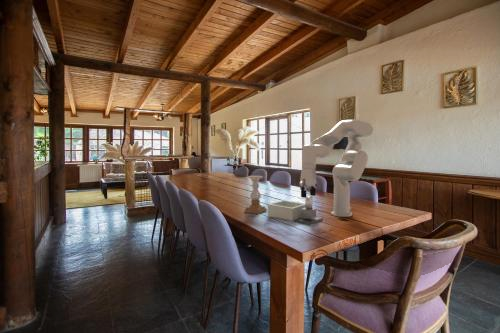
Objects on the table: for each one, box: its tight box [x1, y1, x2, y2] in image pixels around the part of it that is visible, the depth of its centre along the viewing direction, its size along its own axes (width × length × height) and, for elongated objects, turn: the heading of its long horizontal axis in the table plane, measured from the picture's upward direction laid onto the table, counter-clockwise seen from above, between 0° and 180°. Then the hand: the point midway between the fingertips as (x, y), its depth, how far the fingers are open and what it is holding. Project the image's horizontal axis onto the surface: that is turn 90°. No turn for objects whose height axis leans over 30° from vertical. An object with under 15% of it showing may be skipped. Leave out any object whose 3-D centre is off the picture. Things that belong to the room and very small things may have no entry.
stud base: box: [294, 216, 324, 226], centre depth 158 cm, size 14×10×6 cm
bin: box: [267, 200, 305, 223], centre depth 169 cm, size 16×18×8 cm
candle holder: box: [244, 175, 268, 215], centre depth 182 cm, size 11×11×24 cm
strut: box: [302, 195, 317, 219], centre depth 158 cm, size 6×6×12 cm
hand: (308, 196), depth 157 cm, fingers open, 9 cm apart
